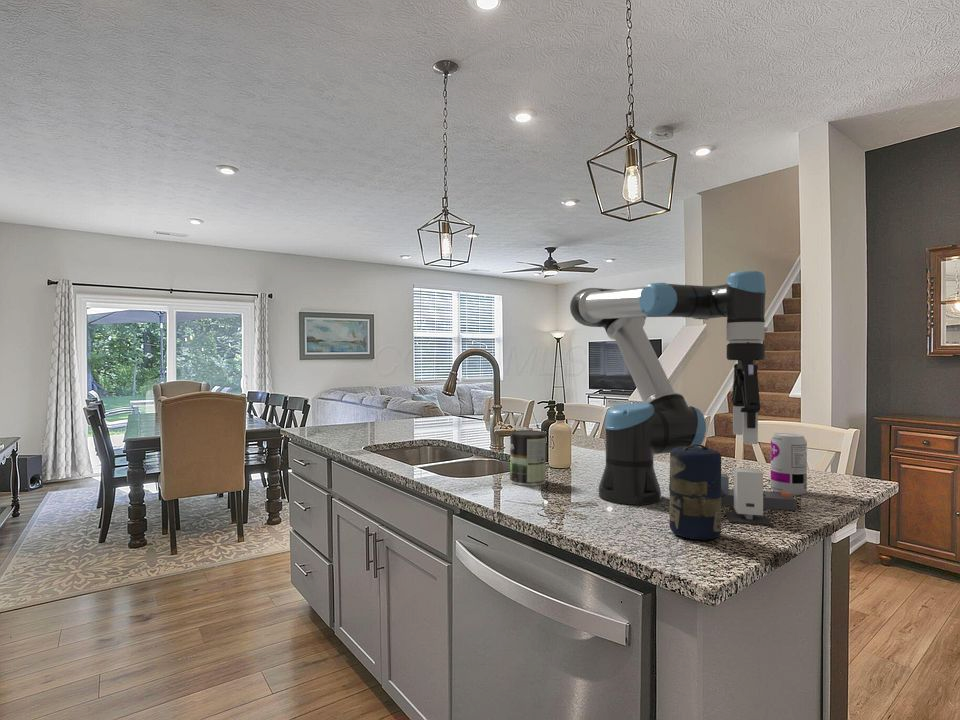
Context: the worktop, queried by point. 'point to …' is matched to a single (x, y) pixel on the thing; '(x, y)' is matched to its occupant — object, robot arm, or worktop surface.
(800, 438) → the supplement can
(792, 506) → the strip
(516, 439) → the coffee can
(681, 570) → the worktop surface
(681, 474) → the canister
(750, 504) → the block
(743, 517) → the mat
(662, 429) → the robot arm
